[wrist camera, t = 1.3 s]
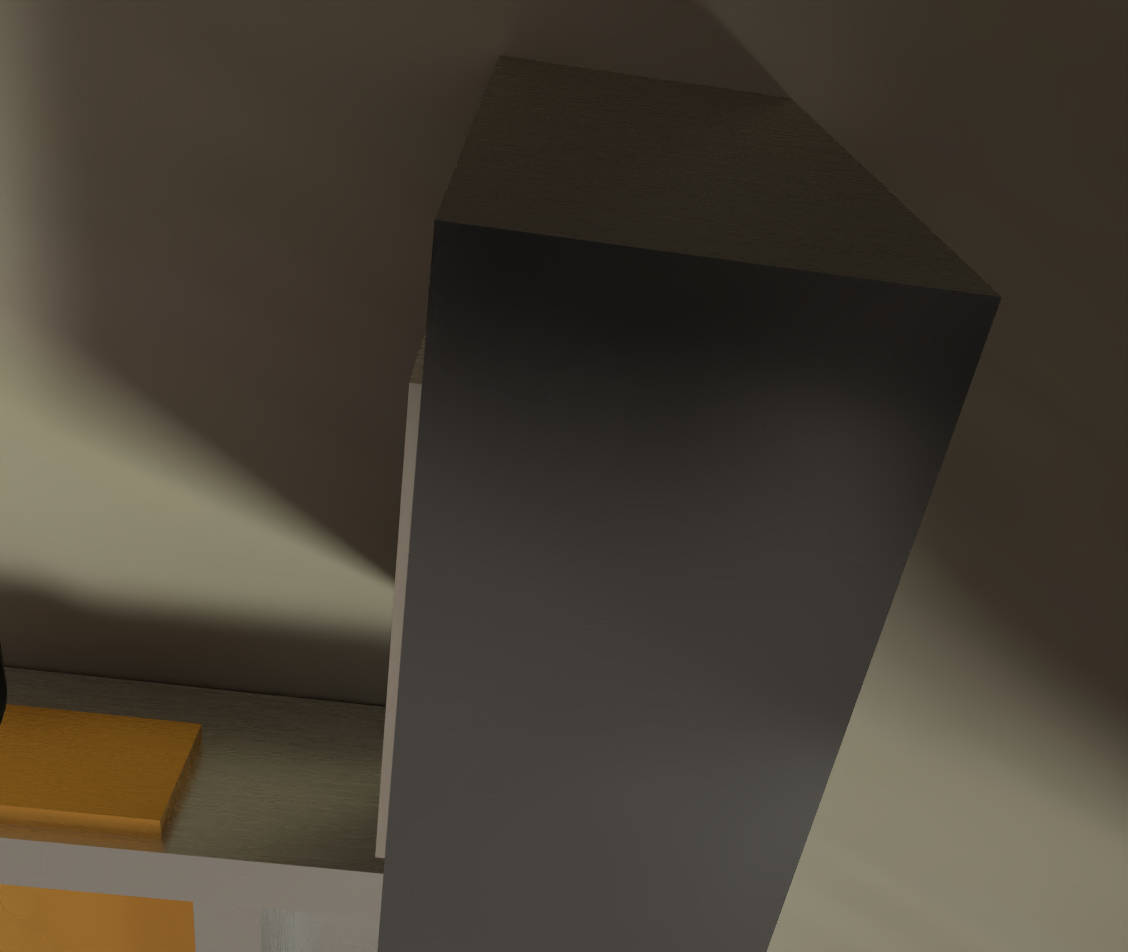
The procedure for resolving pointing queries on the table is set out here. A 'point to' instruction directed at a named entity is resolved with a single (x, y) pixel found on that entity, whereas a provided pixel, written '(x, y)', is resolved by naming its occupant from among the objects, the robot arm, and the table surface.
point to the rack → (186, 819)
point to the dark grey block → (649, 510)
